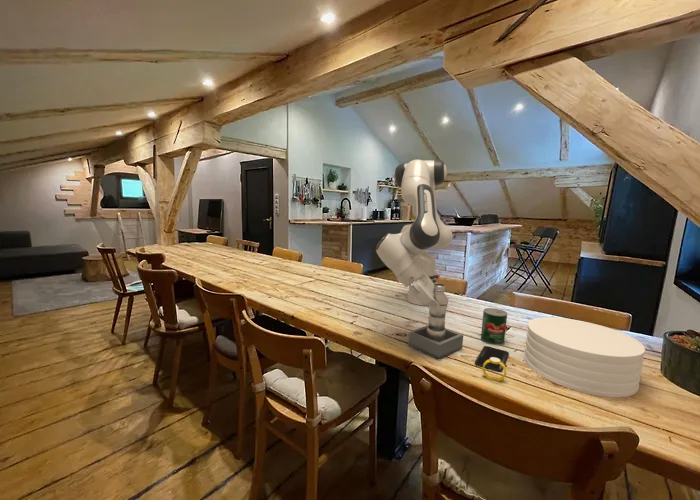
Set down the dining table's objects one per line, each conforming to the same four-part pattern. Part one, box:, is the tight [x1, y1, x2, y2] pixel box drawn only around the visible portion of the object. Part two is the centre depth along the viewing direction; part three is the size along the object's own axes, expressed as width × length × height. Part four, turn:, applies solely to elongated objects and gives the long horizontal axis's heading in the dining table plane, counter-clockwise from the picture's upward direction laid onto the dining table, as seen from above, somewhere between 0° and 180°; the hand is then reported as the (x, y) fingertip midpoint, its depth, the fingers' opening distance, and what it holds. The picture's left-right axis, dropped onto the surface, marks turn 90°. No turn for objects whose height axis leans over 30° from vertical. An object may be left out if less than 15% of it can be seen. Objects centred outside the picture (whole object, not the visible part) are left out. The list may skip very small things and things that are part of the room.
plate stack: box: [523, 316, 646, 398], centre depth 95 cm, size 28×28×12 cm
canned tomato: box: [480, 307, 508, 346], centre depth 113 cm, size 8×8×11 cm
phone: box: [474, 345, 510, 373], centre depth 100 cm, size 8×1×15 cm
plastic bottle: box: [426, 283, 449, 343], centre depth 106 cm, size 6×7×20 cm
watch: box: [482, 357, 507, 382], centre depth 88 cm, size 6×3×6 cm, turn 62°
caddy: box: [407, 325, 464, 361], centre depth 107 cm, size 13×12×5 cm
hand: (439, 306), depth 105 cm, fingers closed on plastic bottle, 6 cm apart
